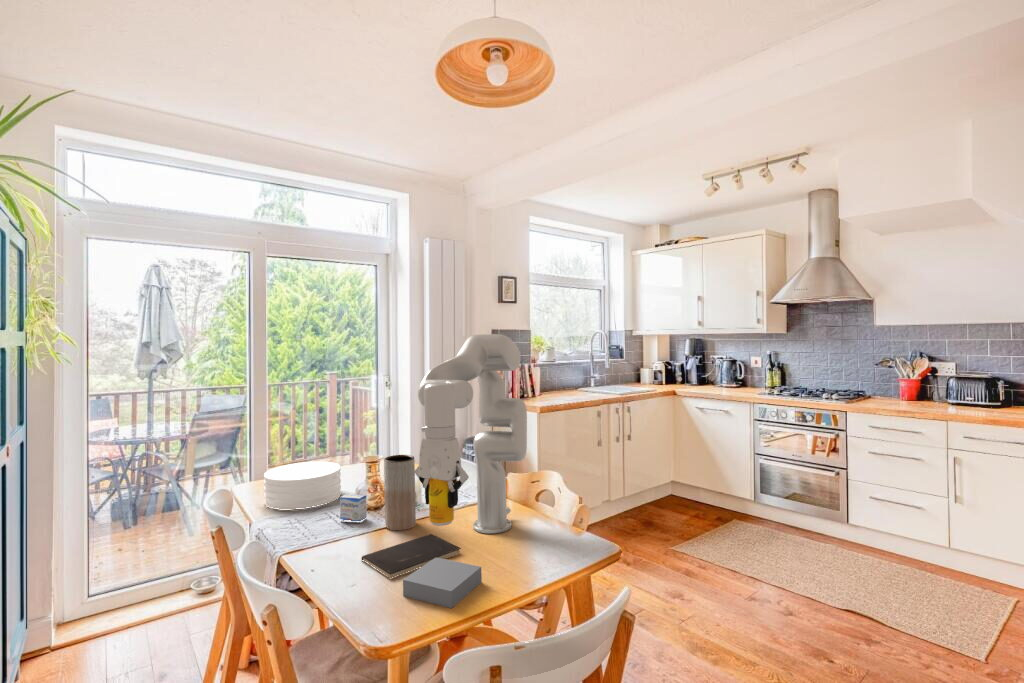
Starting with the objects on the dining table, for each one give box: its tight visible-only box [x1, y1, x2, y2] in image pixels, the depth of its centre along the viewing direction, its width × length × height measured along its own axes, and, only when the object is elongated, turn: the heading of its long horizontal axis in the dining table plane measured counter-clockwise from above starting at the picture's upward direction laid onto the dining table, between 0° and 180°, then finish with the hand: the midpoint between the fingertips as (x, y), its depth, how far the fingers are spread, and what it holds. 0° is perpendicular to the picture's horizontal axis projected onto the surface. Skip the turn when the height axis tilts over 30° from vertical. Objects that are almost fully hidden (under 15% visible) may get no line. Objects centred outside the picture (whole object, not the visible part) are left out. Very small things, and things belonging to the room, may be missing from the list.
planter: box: [383, 454, 417, 531], centre depth 175 cm, size 10×10×23 cm
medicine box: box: [339, 493, 368, 521], centre depth 181 cm, size 8×4×9 cm, turn 76°
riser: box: [402, 557, 483, 609], centre depth 131 cm, size 14×14×4 cm
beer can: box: [428, 467, 455, 527], centre depth 130 cm, size 6×6×15 cm
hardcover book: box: [361, 533, 462, 579], centre depth 150 cm, size 16×23×2 cm
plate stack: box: [263, 461, 342, 509], centre depth 207 cm, size 28×28×12 cm
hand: (441, 503), depth 130 cm, fingers closed on beer can, 6 cm apart
